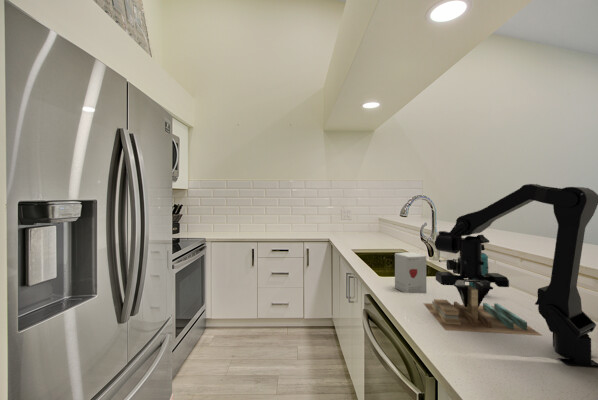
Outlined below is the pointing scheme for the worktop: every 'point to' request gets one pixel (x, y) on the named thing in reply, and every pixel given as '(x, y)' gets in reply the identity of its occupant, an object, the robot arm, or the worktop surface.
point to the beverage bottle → (484, 267)
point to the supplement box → (410, 272)
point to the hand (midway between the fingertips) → (471, 307)
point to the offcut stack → (446, 311)
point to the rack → (487, 320)
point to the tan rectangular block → (472, 301)
